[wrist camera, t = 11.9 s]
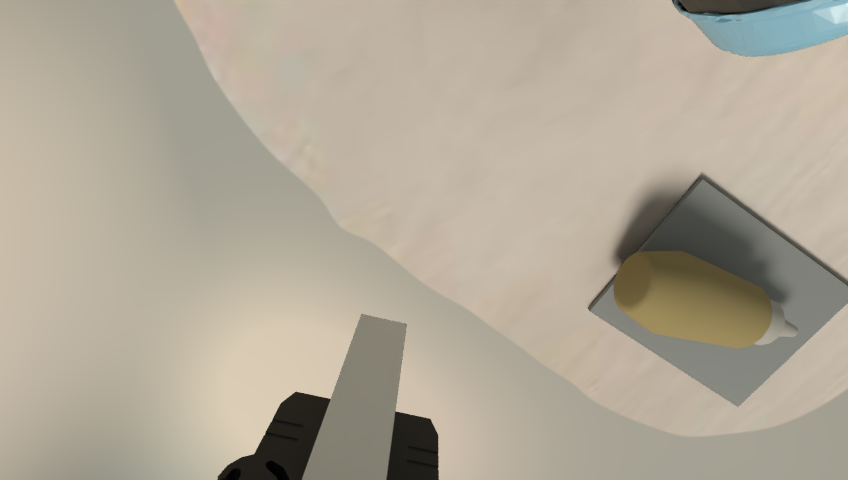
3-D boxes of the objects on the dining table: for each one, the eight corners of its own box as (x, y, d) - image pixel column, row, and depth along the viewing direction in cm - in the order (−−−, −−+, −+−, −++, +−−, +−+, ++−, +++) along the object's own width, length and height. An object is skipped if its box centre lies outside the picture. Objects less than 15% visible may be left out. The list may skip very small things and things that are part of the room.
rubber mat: (699, 178, 41) (702, 179, 41) (852, 290, 44) (857, 293, 44) (587, 308, 45) (589, 311, 45) (734, 403, 48) (737, 406, 48)
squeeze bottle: (682, 270, 34) (861, 328, 37) (637, 223, 41) (790, 275, 44) (626, 344, 37) (793, 391, 40) (594, 289, 45) (738, 333, 47)
